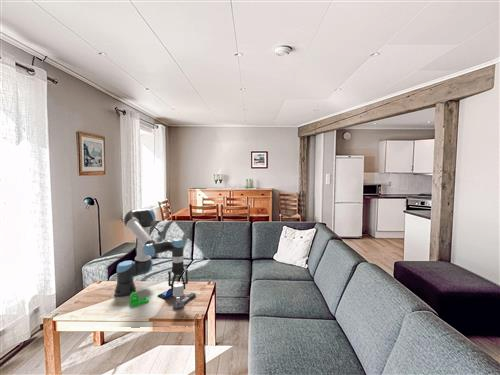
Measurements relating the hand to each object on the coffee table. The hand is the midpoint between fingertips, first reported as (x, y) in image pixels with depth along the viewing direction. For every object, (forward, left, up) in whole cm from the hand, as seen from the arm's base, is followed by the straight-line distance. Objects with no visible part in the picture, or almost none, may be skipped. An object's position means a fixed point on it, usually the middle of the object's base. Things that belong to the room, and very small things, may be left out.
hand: (178, 294), depth 190 cm
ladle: (0, 0, -9) cm, 9 cm away
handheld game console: (-21, -3, -9) cm, 23 cm away
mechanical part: (-16, -25, -9) cm, 31 cm away
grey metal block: (0, 0, 0) cm, 0 cm away
